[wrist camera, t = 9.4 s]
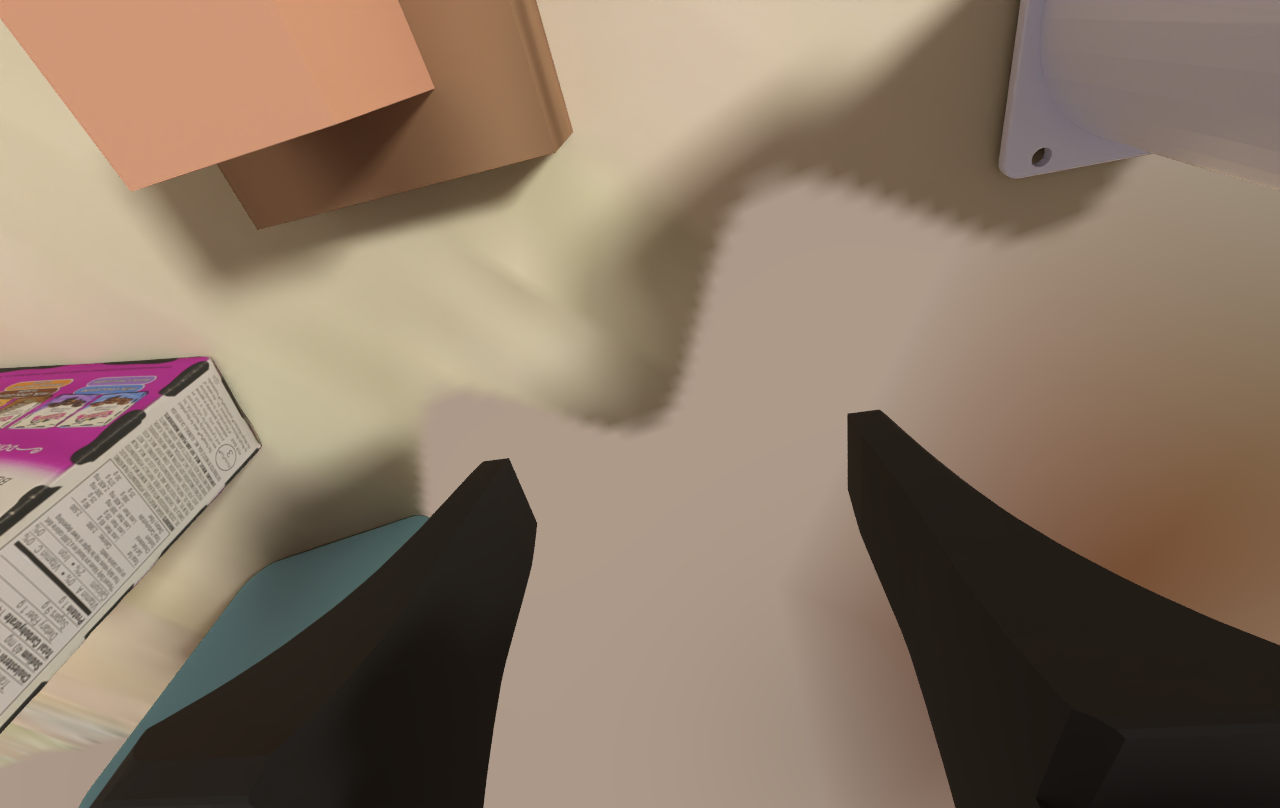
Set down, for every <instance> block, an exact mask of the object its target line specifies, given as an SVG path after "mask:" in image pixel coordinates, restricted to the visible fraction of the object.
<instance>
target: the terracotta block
mask: <svg viewBox="0 0 1280 808" xmlns="http://www.w3.org/2000/svg"><path fill="white" fill-rule="evenodd" d="M0 18H1V20H2V21H3V22H4V24H5V25H6V26H7V28H8V29H9V30H10V32H11V33H12V34H13V36H14V37H15V38H16V40H17V41H18V42H19V44H20V45H21V46H22V48H23V49H24V50H25V51H26V53H27V54H28V55H29V57H30V58H31V59H32V61H33V62H34V63H35V65H36V66H37V67H38V69H39V70H40V71H41V73H42V74H43V75H44V77H45V78H46V79H47V81H48V82H49V83H50V85H51V86H52V87H53V89H54V90H55V91H56V93H57V94H58V95H59V97H60V98H61V99H62V101H63V102H64V103H65V105H66V106H67V107H68V109H69V110H70V111H71V112H72V114H73V115H74V116H75V118H76V119H77V120H78V122H79V123H80V124H81V126H82V127H83V128H84V130H85V131H86V132H87V134H88V135H89V136H90V138H91V139H92V140H93V142H94V143H95V144H96V146H97V147H98V148H99V150H100V151H101V152H102V154H103V155H104V156H105V158H106V159H107V160H108V162H109V163H110V164H111V166H112V167H113V168H114V170H115V171H116V172H117V174H118V175H119V176H120V177H121V179H122V180H123V181H124V183H125V184H126V185H127V187H128V188H129V189H130V191H134V190H137V189H140V188H143V187H146V186H149V185H152V184H155V183H158V182H162V181H165V180H168V179H171V178H174V177H177V176H180V175H183V174H186V173H189V172H192V171H195V170H198V169H201V168H204V167H207V166H210V165H213V164H216V163H219V162H223V161H226V160H229V159H232V158H235V157H238V156H241V155H244V154H247V153H250V152H253V151H256V150H259V149H262V148H265V147H268V146H271V145H274V144H277V143H280V142H284V141H287V140H290V139H293V138H296V137H299V136H302V135H305V134H308V133H311V132H314V131H317V130H320V129H323V128H326V127H329V126H332V125H335V124H338V123H341V122H344V121H347V120H349V119H352V118H355V117H358V116H360V115H363V114H366V113H369V112H371V111H374V110H377V109H380V108H382V107H385V106H388V105H391V104H393V103H396V102H399V101H402V100H404V99H407V98H410V97H413V96H415V95H418V94H421V93H424V92H426V91H429V90H432V89H435V88H434V85H433V83H432V80H431V78H430V75H429V73H428V71H427V68H426V66H425V63H424V61H423V59H422V56H421V54H420V51H419V49H418V47H417V44H416V42H415V39H414V37H413V35H412V32H411V30H410V27H409V25H408V23H407V20H406V18H405V16H404V13H403V11H402V8H401V6H400V4H399V1H398V0H0Z"/></svg>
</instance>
